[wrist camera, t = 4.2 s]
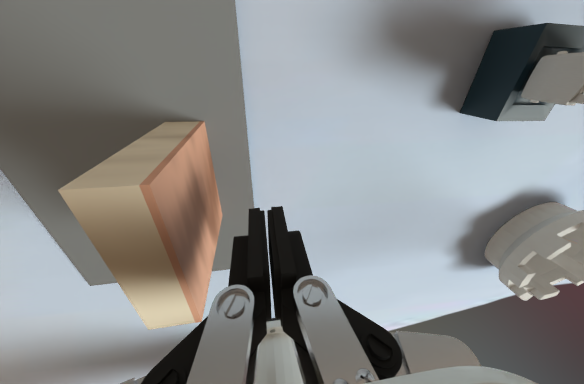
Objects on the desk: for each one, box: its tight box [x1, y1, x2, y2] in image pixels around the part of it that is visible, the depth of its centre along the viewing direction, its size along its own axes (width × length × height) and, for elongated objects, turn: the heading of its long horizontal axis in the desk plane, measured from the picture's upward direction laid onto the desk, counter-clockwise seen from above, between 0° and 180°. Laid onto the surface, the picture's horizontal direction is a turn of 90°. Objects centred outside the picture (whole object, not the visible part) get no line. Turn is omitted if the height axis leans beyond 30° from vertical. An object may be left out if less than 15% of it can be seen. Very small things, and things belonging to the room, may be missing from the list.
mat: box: [0, 0, 254, 286], centre depth 16 cm, size 22×16×1 cm
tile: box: [58, 121, 223, 330], centre depth 12 cm, size 8×2×9 cm, turn 179°
